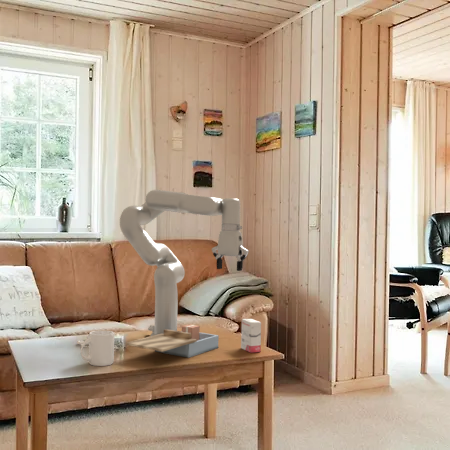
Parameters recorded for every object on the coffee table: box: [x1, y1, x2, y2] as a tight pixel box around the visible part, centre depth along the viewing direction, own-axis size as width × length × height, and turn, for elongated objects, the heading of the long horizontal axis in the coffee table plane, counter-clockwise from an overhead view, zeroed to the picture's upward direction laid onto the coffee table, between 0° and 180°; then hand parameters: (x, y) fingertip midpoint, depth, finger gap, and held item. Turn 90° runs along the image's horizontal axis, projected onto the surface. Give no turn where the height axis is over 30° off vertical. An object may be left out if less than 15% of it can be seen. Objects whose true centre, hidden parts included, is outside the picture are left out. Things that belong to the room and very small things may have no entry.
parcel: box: [181, 324, 201, 341], centre depth 230 cm, size 5×5×8 cm
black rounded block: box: [76, 334, 89, 348], centre depth 231 cm, size 9×8×4 cm
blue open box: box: [154, 330, 220, 358], centre depth 228 cm, size 16×20×5 cm
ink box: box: [240, 318, 262, 354], centre depth 230 cm, size 9×5×12 cm, turn 24°
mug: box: [80, 329, 115, 367], centre depth 203 cm, size 9×12×11 cm
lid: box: [125, 329, 197, 353], centre depth 214 cm, size 17×21×3 cm
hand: (229, 269), depth 241 cm, fingers open, 9 cm apart
